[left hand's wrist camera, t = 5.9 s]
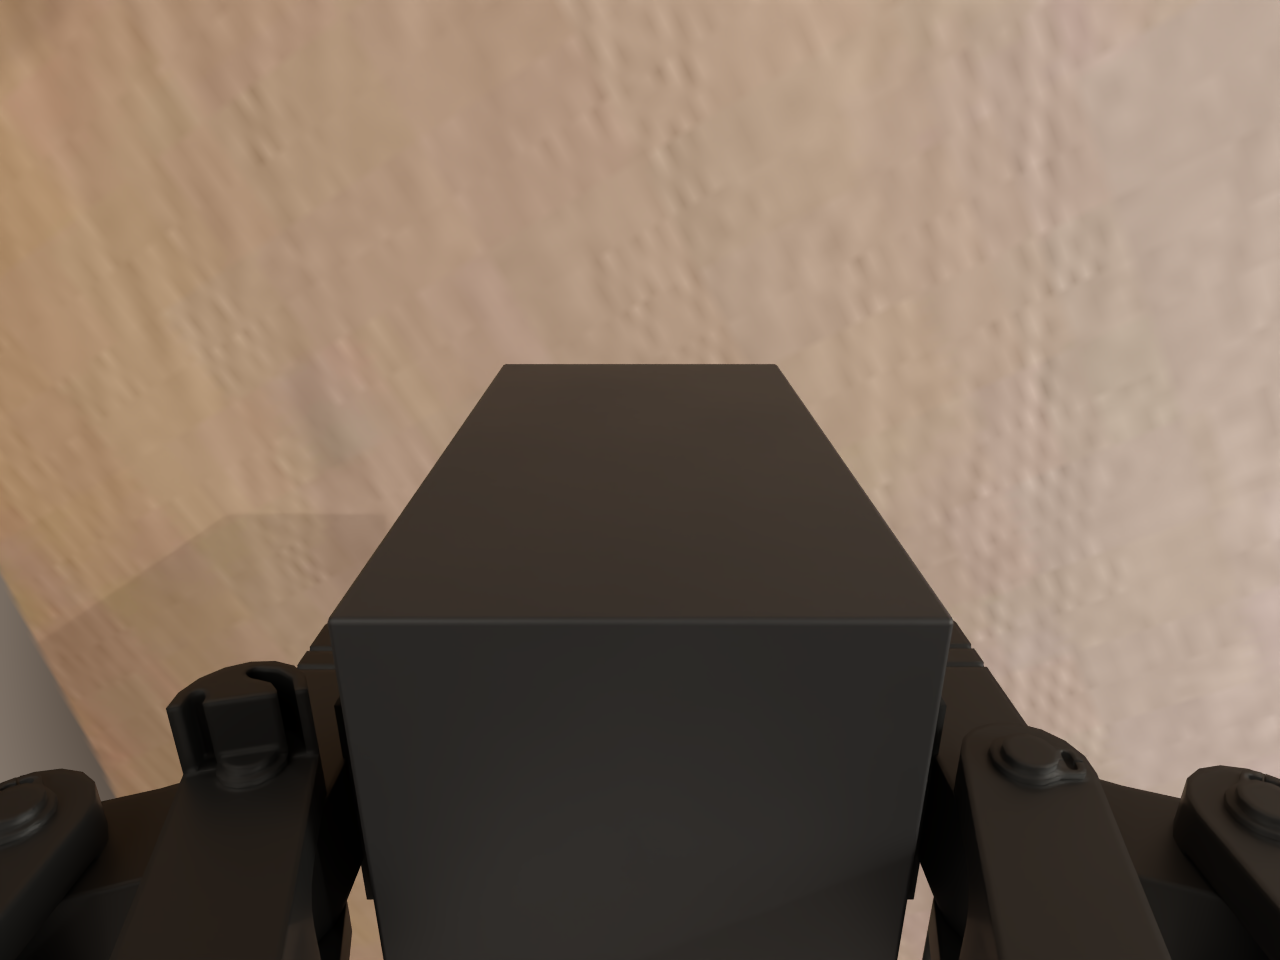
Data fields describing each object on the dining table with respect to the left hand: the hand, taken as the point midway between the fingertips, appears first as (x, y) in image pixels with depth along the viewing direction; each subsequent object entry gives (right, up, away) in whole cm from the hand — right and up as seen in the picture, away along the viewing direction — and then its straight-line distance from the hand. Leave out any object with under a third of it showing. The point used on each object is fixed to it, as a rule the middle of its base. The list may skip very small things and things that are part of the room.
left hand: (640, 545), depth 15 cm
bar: (0, -9, +4) cm, 10 cm away
